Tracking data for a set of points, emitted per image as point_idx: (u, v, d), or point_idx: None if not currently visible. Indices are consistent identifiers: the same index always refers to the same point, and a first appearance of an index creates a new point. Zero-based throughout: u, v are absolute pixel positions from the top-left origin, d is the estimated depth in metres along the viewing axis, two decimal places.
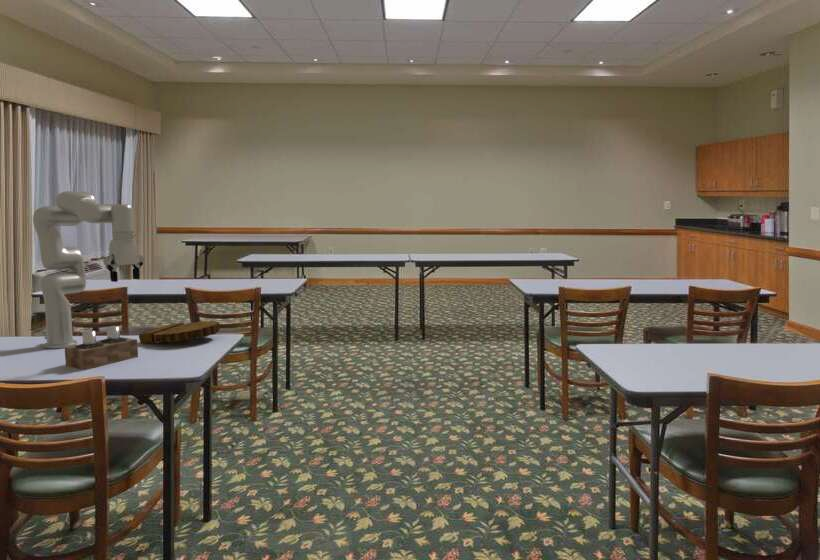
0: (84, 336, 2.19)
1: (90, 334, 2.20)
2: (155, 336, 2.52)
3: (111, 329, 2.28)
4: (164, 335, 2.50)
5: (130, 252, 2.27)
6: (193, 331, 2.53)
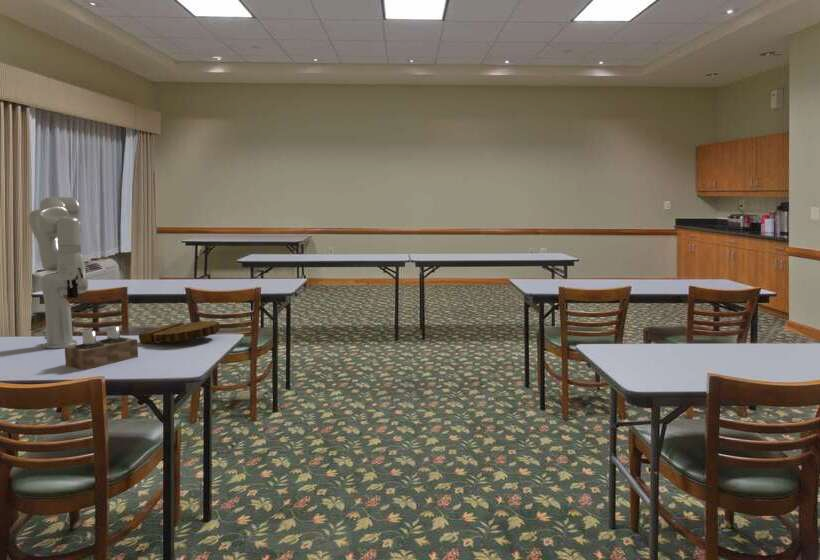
0: (84, 336, 2.19)
1: (90, 334, 2.20)
2: (155, 336, 2.52)
3: (111, 329, 2.28)
4: (164, 335, 2.50)
5: None
6: (193, 331, 2.53)
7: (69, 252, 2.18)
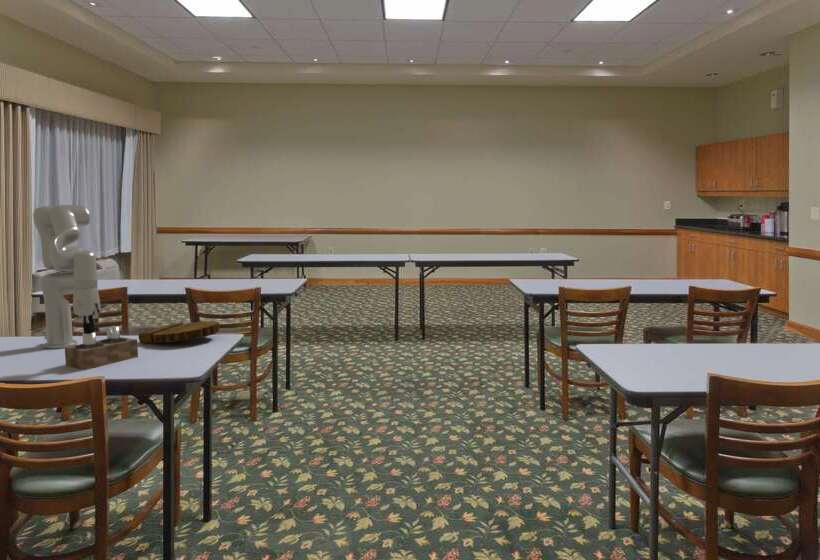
0: (84, 337, 2.19)
1: (90, 335, 2.20)
2: (155, 336, 2.52)
3: (111, 329, 2.28)
4: (164, 335, 2.50)
5: None
6: (193, 331, 2.53)
7: (86, 288, 2.16)
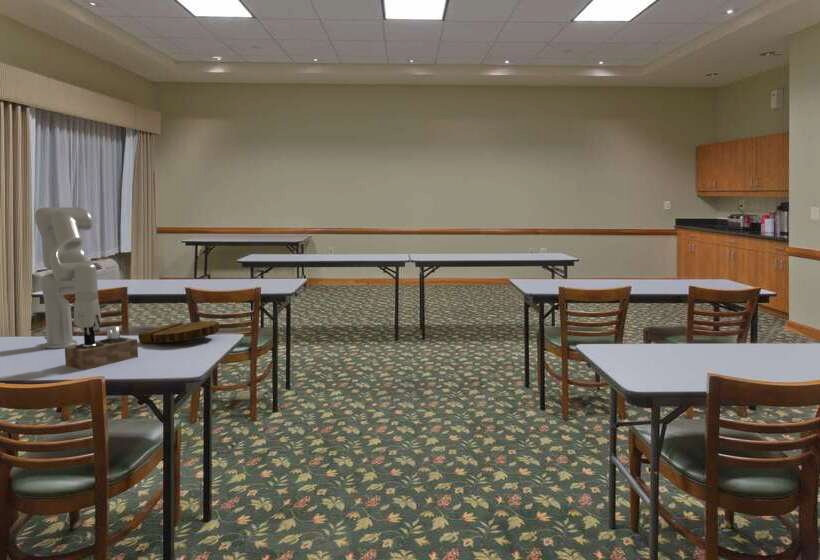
0: None
1: None
2: (154, 336, 2.52)
3: (111, 329, 2.28)
4: (163, 335, 2.50)
5: None
6: (192, 331, 2.53)
7: (87, 299, 2.16)
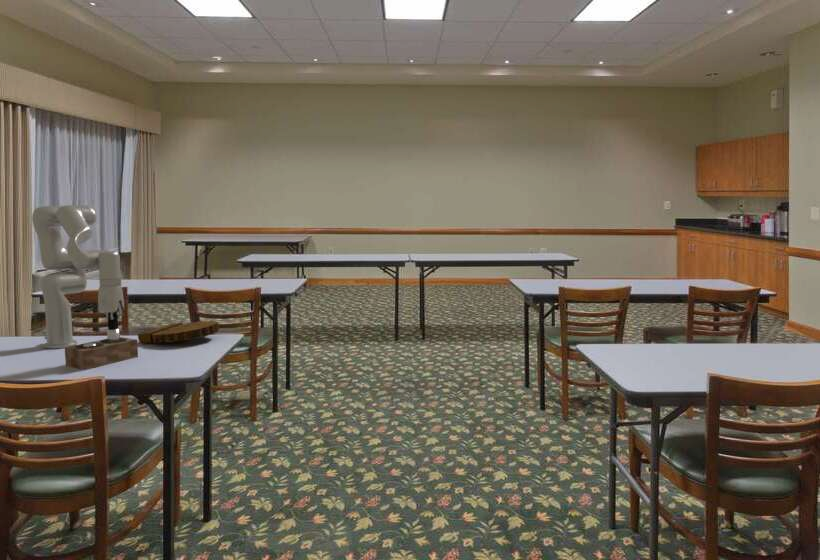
0: None
1: None
2: (154, 336, 2.52)
3: (111, 331, 2.28)
4: (163, 335, 2.50)
5: None
6: (192, 331, 2.53)
7: (111, 285, 2.25)
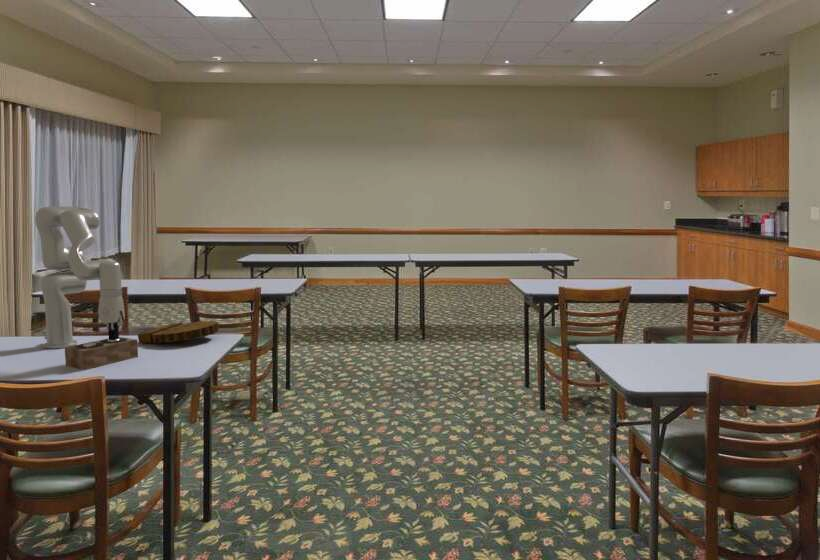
0: None
1: None
2: (154, 336, 2.52)
3: None
4: (163, 335, 2.50)
5: None
6: (192, 331, 2.53)
7: (111, 296, 2.25)
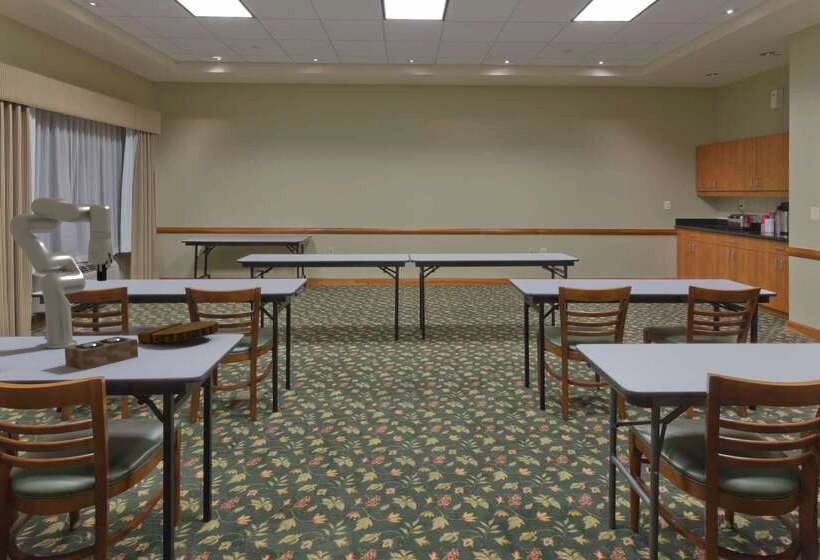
0: None
1: None
2: (154, 336, 2.52)
3: None
4: (163, 335, 2.51)
5: None
6: (192, 331, 2.53)
7: (100, 238, 2.33)
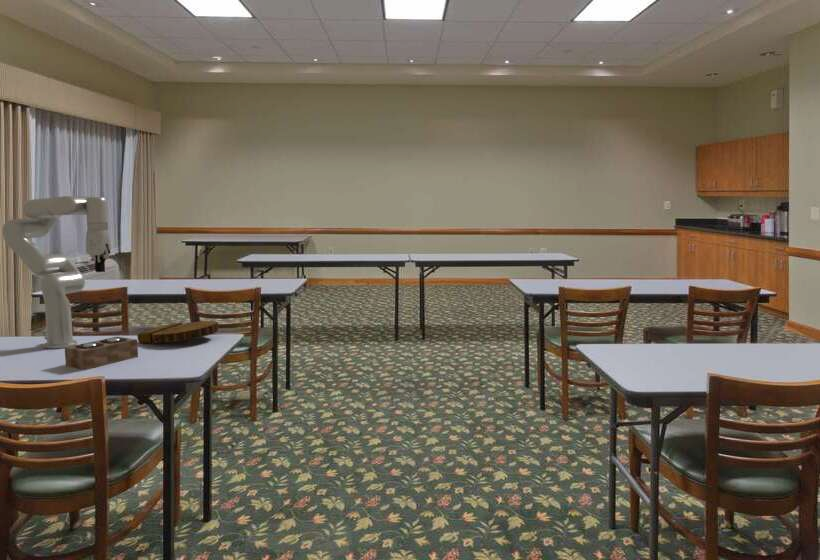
0: None
1: None
2: (153, 336, 2.52)
3: None
4: (162, 335, 2.51)
5: None
6: (191, 331, 2.53)
7: (98, 229, 2.36)
